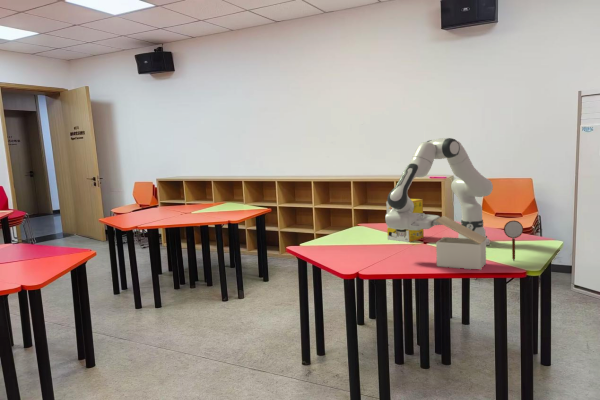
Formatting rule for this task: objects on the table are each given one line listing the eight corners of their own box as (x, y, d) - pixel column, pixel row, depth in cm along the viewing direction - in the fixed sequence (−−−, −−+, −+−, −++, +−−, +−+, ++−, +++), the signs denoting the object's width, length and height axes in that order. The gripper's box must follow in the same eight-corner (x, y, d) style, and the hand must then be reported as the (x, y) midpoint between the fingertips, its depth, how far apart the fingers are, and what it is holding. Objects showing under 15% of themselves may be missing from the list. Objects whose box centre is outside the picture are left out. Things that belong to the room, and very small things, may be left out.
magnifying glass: (522, 260, 216) (522, 220, 214) (523, 261, 215) (523, 220, 213) (503, 260, 218) (503, 220, 216) (504, 261, 217) (504, 221, 215)
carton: (444, 260, 225) (443, 237, 224) (486, 263, 215) (485, 239, 213) (436, 266, 215) (436, 242, 213) (480, 270, 204) (480, 244, 203)
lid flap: (443, 216, 223) (443, 215, 223) (485, 238, 214) (486, 237, 213) (435, 220, 212) (436, 219, 212) (480, 244, 202) (480, 243, 202)
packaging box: (387, 239, 286) (386, 201, 283) (402, 235, 297) (401, 198, 294) (408, 242, 274) (407, 202, 271) (423, 237, 284) (422, 199, 282)
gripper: (409, 218, 215) (437, 219, 208) (422, 212, 232) (449, 213, 225) (409, 231, 216) (438, 233, 209) (422, 224, 233) (449, 225, 226)
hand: (444, 222), depth 217 cm, fingers closed, pressing on lid flap
